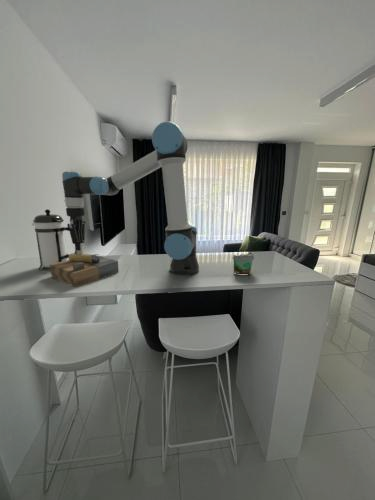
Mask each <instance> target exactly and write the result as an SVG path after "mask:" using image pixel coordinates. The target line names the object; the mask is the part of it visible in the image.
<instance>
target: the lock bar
mask: <svg viewBox="0 0 375 500" xmlns="http://www.w3.org/2000/svg"><path fill="white" fill-rule="evenodd" d="M68 260H69V261H82V262H92V263H98V262H100V254H91V253H89V254H88V253H84V254H75V252H74V253H69V258H68Z"/></svg>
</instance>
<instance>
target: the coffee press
mask: <svg viewBox="0 0 375 500" xmlns="http://www.w3.org/2000/svg"><path fill="white" fill-rule="evenodd" d="M44 213H45V214H39V215H36V216H35V217H34V219H33V220H32V221H33V222H31V223H32V224H31V226H33V227H34V232H35V234H36V235H35V236H36V240H37V241H36V242H37V248H38V256H39V263H40V265H39V267H38V270H39V271H44V269H46V268H50V264H54V263H58V262H63V261H67V260H68V259H69V254H70V253H69V254H68V251H67V245H66V236H65V231H67V232H70V231H69V228H68V226H64V219H63V218H62V216H61V215H58V214H51V210H50V209H45V210H44ZM74 253H75V254H77V253H76V244H74Z"/></svg>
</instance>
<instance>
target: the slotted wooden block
mask: <svg viewBox="0 0 375 500" xmlns="http://www.w3.org/2000/svg"><path fill="white" fill-rule="evenodd" d="M99 256H100V255H99ZM49 269H50V273H51V277H52V278H54V279H56V280H59V281H60V282H63V283H65V284H68V285H70V286H72V287H79V286H82V285H85V284H88V283H92V282H94V280H95V281H97V279H98V280H100V278H101V279H103V277H104V278H106V277H105V276H107V277H109V275H110V276H113V275H116V274H119V272H120V271H119V261H118V260H116V259H111V258H108V257H104V256H100V262H98V263H92V262H82V261H69V259H67V261H63V262H58V263H54V264H50V267H49ZM112 274H113V275H112Z"/></svg>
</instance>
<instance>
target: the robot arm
mask: <svg viewBox="0 0 375 500" xmlns="http://www.w3.org/2000/svg"><path fill="white" fill-rule="evenodd" d="M151 142H152V146H153V148H154V150H153V151H152V152H150V153H148V154H146V155H145V156H143V157H141V158H139V159H138V160H136V161H134V162H133V163H131V164H129V165H127V166H125V167H124V168H122V169H120V170H118V171H117V172H116V173H114V174H112V175H110V176H108V177H107V178H105V177H103V176H82V175H81V173H80V172H78V171H63V172H62V173H61V174H62V175H61V177H62V186H63V193H64V202H65V207H66V208H65V210H66V216H67V217H69V222H70V223H67V225H66V227H68V228H69V231H68V232H69V235H70V238H71V243H72V244H73V245H75V244H76V253H77V254H85V253H84V247H83V246H84V245H83V244H85V239H86V238H85V237H86V234H85V233H86V231H85V229H86V227H85V226H86V221H85V220H83V217H85V214H86V213H85V208H84V207H85V202H84V195H95V196H96V195H97V196H102V195H103V196H115V195H117V194H118V193H119V192H120V190H122V189H125V188H126V187H128V186H129V185H131V184H133V183H135V182H137V181H139V180H141V179H142V178H144V177H146V176H147V175H149V174H151V173H153V172H155V171H157V170H158V169H160V168H161V172H162V181H163V188H164V189H163V190H164V198H165V207H166V208H165V209H166V217H167V226H166V227H165V229H164V230H165V231H164V232H165V240H164V244H163V246H164V247H163V248H164V251H165V253H166V255H168V256H169V257H170V259H171V262H170V265H169V270H170V272H171V273H173V274H177V275H193V274H197V273H198V272H199V271H200V266H199V262H198V258H197V234H198V231H197V227H196V226H192V225H190V224H189V222H188V212H187V211H188V210H187V199H186V187H185V175H184V166H183V165H184V164H185V162H186V159H187V157H186V156H187V155H186V154H187V151H188V140H187V138H186V137H185V135H184V134H183V130H182V129H181V127H179V125H178V124H176V123H174V122H172V121H163V122H160V123H159V124H158V125H156V127H154V129H153V132H152V135H151Z"/></svg>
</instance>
